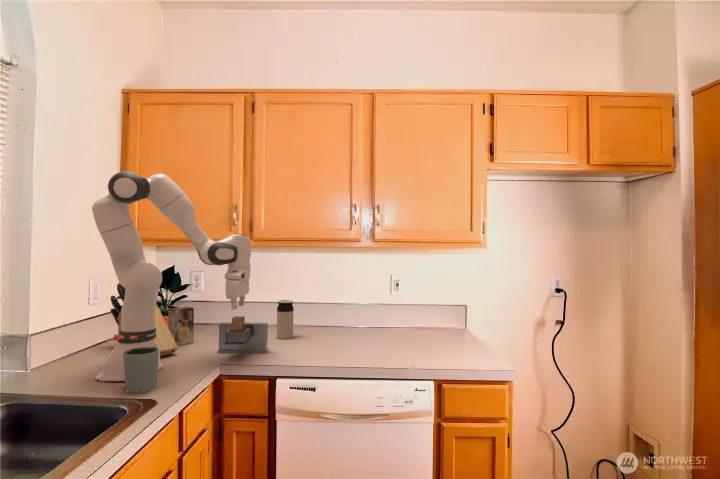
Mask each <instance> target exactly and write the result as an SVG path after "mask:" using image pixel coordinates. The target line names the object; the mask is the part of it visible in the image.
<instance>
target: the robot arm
mask: <svg viewBox="0 0 720 479" xmlns="http://www.w3.org/2000/svg"><path fill="white" fill-rule="evenodd" d="M107 190H108V191H107V192H108V195H106V196H103V197H101V198H99V199H97V200H96V201H95V202H93V203H92V207H91V211H92V214H93V218H94V222H95V225H96V227H97V230H98V232H99V235H100V237H101V239H102V241H103V243H104V245H105V248H106V249H107V250H106V251H108V254H109V257H110V259H111V262H112V266H113V269H114V273H115V275H116V278H117V281H118V284H119V283H120V284H121V285H122V286H123V287H124V288H126V291H125V297H124V302H123V301H122V305H123V306H122V305H121V306H122V308H121V330H120V332H119V334H118V333H117V334H114V335H113V341H116V342H117V343H116V344H115V346H114V347H113V349H112V350H111V351H110V353H109V355H108V356H107V357H106V359H105V360H104V366H103V370H102V371H101V372H100V373H98V374H97V375H95V379H96V380H95V381H97V380H99V382H105V381H124V382H125V372H124V359H123V352H124V351H126V350H129V349H133V348H139V347H157V348H159V344H158V343H157V342H156V340H155V338H156V333H157V331H156V328H155V308H156V304H157V301H158V296H159V291H160V287H161V285H162V282H163V274H162V272H161V270H160V269H159V268H158V266H156V265H155V264H152V263H151V262H147V259H146V255H145V252H144V248H143V241H142V238H141V237H140V235H139V231H138V229H137V227H136V224H135V222H134V221H133V219H132V215H131V214H130V209H129V207H130V205H131V204H133V203H136V202H138V201H141V200H144V199H146V200H147V201H148V200H149V202H151V204H153V205H154V206H155V208H156V209H157V210H159V212H160V213H161V214H162V215H163V216H164V217H165V218H166V219H167V220H168V221H170V223H172V224H173V225H175V226H176V227H177V228H178V229H179V230H181V232H182V233H183V234H184V235H185V237H187V239H188V240H189V241H190V243H192V245H193V246H194V247H195V249H196V251H197V255H198V257H199V260H200V261H201V262H202V263H203V264H205V265H207V266H216V267H217V266H224V265H227V271H226V272H225V273H224V280H225V296H226V299H227V300H230V301H229V302H230V306H231V307H230V309H231V310H237V309H238V307H243V306H245V305H244V304H245V299H246V295H248V294H249V293H250V278H251V258H252V244H251V243H252V242H251V239H250V237H249V236H248V235H244V234H241V233H231V234H230V235H228V236H227V237H225V238H222V239H219V240H217V241H215V240H213V239H211V238H210V237H209V235H207V234H206V233H205V231H204V230H203V228H202V227H201V226H200V225H199V224H198V222H197V221H196V217H195V206H194V203H193V202H192V201H191V199H190V198H189V196H188V195H187V194H186V192H184V190H183V189H182V188H181V187H180V186H179V185H178V184H177V183H176V182H175V181H174V180H173V179H171V178H170V177H169V176H168V175H167V174H164V173H155V174H153V175H150V176H149V177H147V178H145V177H143V176H140V175H138V174H137V173H135V172H132V171H129V170H128V171H127V170H126V171H124V170H123V171H120V172H117V173H115V174H113V175H112V176H111V177H110V179H109V180H108V182H107ZM237 300H239V301H238V304H237ZM164 368H165V367H164V364H163V363H161V356H160V349H159V355H158V367H157V371H159V370H161V369H164Z"/></svg>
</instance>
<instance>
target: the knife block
mask: <svg viewBox="0 0 720 479" xmlns="http://www.w3.org/2000/svg"><path fill="white" fill-rule="evenodd" d="M116 290H117V293H118V296H117V297H116V295H111V296H110V303H111V304H112V306H113V307H112V308H110V313H111V315H112V316H113V319H114V320H115V322H116V324H117V327H118V328H117V329H118V330H117V335H118V334H119V332H120V330H121V308H122V306H123V304H122V305H121V304H120V302H119V301H118V300H119V299H120V300H121V301H122V303H123V302H124V297H125V291H126V288H124V287H123V286H122V285H121V284H120V283H119V282H118V283H117V285H116ZM155 328H156V331H157V333H156V338H155V340H156V342H157V343H158V344H159V349H160V357H162V356H166V355H171V354H175V353H176V352H177V350H179V349H178V348H179V347H178V346H177V345H176V343H175V341H174V339H173V337H172V335H171V333H170V330H169V328H168V324H167V322H166V321H165V318H164V316H163V314H162V312H161V310H160V308H159V307H158V304H157V303H156V308H155Z"/></svg>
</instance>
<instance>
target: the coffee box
mask: <svg viewBox="0 0 720 479" xmlns="http://www.w3.org/2000/svg"><path fill="white" fill-rule="evenodd" d="M167 309H168V310H167V311H168V312H167V315H168V316H167V318H168V319H167V322H168V324H167V326H168V328H169V330H170V333H171V335H172V337H173V339H174V341H175V343H176V345H177V347H178V346H181V345H186V344H193V343H194V342H195V340H194V338H195V336H194V334H195V332H194V330H195V329H194V328H195V326H194V325H195V321H194V320H195V319H194V318H195V315H194V314H195V310H194V309H195V308H194V307H191V306H182V307H173V308H167Z"/></svg>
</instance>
